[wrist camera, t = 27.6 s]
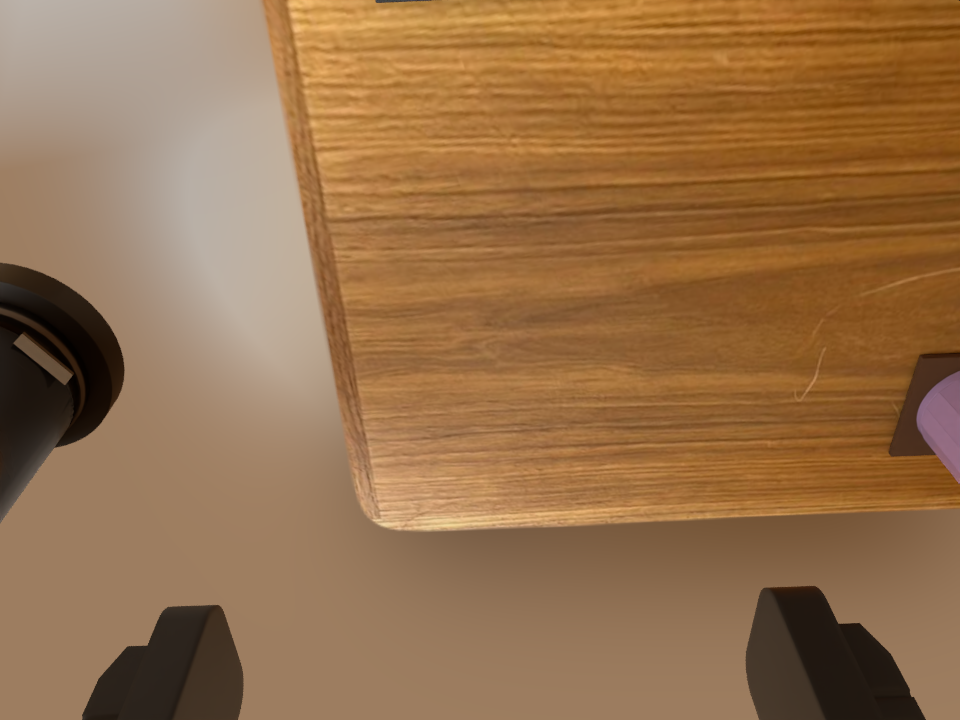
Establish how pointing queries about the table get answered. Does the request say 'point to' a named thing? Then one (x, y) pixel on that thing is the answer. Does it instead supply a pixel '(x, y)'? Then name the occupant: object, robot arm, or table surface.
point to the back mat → (923, 381)
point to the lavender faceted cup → (943, 422)
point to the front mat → (382, 0)
